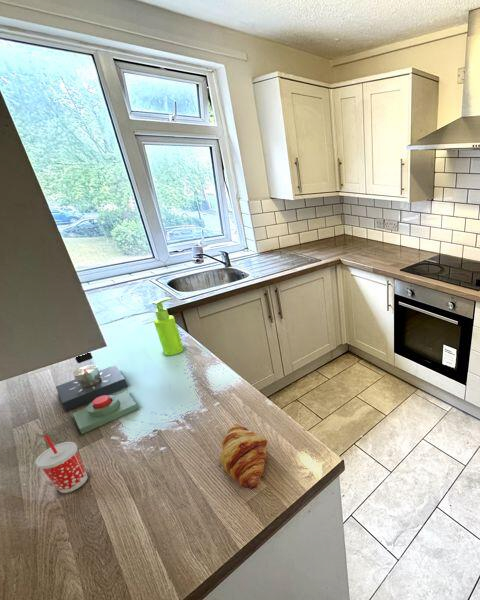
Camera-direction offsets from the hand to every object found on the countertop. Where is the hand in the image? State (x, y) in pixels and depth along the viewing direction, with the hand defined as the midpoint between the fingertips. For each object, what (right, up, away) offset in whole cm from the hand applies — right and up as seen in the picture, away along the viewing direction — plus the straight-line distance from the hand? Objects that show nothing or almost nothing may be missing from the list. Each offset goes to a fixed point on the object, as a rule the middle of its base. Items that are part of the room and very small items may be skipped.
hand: (79, 354), depth 92 cm
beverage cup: (+19, -25, -21) cm, 38 cm away
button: (+9, -13, -3) cm, 16 cm away
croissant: (+54, -22, -15) cm, 61 cm away
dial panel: (-2, -12, +7) cm, 14 cm away
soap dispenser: (+8, -3, +27) cm, 29 cm away
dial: (-2, -9, +6) cm, 11 cm away
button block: (+9, -16, -2) cm, 19 cm away
